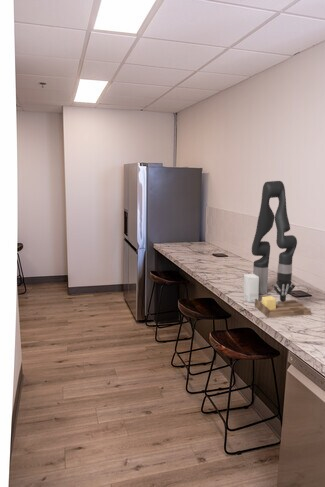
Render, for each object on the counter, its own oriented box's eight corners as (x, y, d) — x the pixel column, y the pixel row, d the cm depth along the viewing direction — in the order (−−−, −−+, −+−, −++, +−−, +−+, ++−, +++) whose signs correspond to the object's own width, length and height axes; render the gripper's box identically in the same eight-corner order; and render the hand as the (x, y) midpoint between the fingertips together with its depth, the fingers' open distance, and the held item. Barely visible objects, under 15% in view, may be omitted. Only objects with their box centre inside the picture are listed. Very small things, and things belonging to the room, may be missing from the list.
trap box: (254, 306, 216) (255, 298, 215) (294, 304, 220) (295, 296, 219) (267, 317, 200) (268, 309, 199) (310, 314, 204) (311, 306, 203)
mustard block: (261, 306, 209) (262, 296, 208) (270, 305, 210) (271, 296, 209) (266, 309, 204) (266, 300, 203) (275, 309, 205) (276, 299, 204)
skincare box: (258, 302, 223) (259, 277, 220) (247, 302, 222) (249, 277, 219) (252, 297, 231) (254, 273, 228) (242, 298, 230) (243, 273, 227)
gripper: (292, 269, 211) (290, 298, 214) (270, 270, 208) (268, 299, 212) (299, 272, 203) (297, 302, 207) (276, 273, 201) (274, 304, 205)
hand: (282, 301), depth 209 cm, fingers closed
